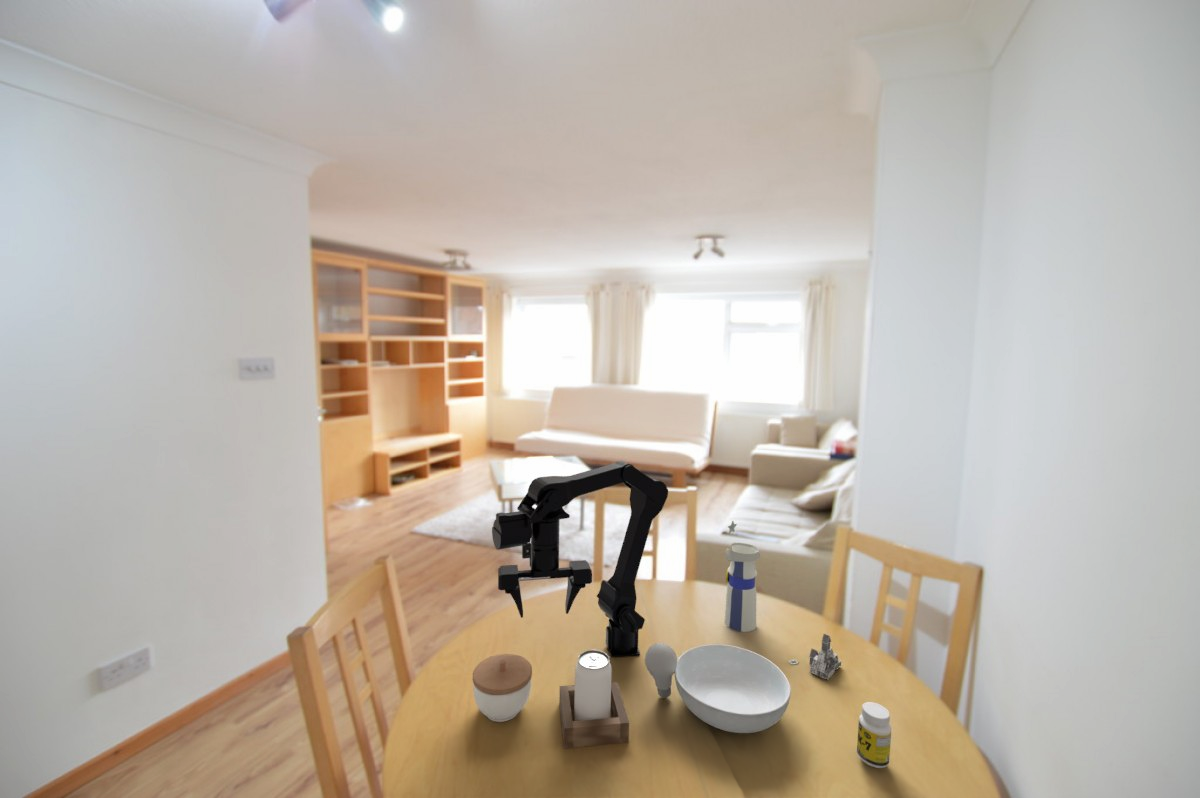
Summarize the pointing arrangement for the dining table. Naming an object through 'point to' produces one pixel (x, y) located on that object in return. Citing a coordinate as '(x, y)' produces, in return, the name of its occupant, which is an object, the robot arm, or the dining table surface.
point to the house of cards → (823, 660)
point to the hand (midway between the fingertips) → (544, 614)
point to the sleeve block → (593, 722)
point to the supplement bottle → (874, 735)
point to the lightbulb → (661, 666)
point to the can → (592, 686)
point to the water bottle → (741, 586)
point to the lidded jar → (502, 686)
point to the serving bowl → (732, 687)
